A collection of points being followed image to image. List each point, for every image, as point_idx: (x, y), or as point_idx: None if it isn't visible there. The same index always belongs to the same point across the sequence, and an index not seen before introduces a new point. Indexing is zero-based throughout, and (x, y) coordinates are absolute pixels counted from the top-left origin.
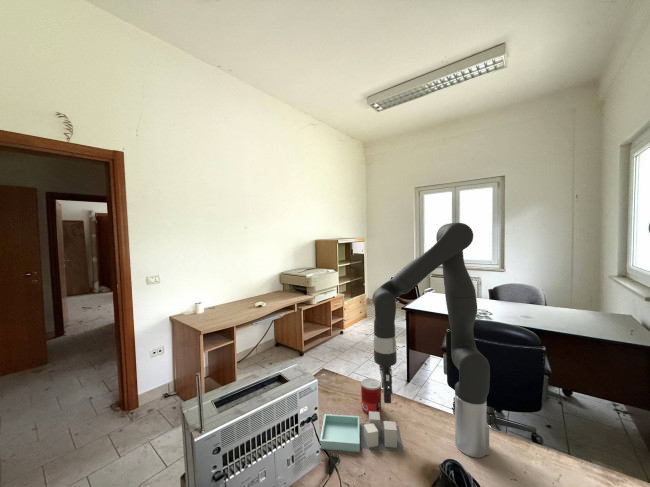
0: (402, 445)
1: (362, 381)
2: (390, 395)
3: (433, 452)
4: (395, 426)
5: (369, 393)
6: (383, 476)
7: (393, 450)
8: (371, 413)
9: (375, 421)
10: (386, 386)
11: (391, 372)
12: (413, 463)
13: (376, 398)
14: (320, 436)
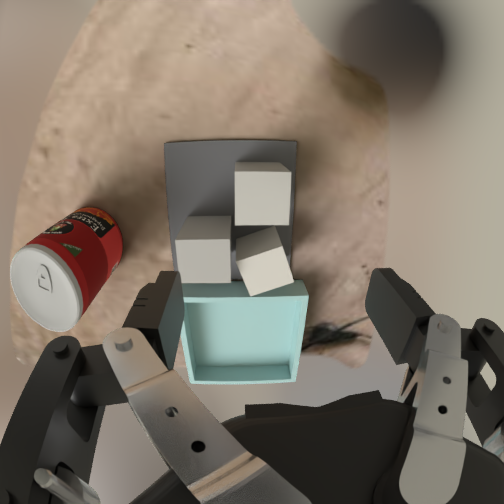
0: (267, 141)
1: (47, 326)
2: (416, 301)
3: (282, 44)
4: (268, 174)
5: (90, 290)
6: (375, 219)
7: (292, 176)
8: (192, 272)
9: (230, 255)
10: (176, 288)
11: (458, 464)
12: (334, 121)
13: (90, 248)
14: (281, 382)
